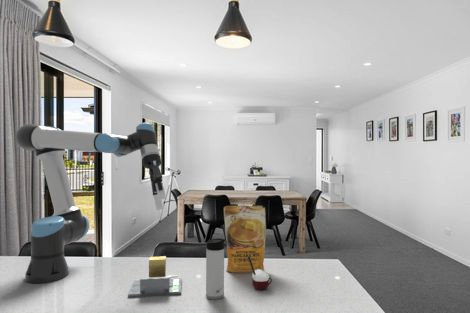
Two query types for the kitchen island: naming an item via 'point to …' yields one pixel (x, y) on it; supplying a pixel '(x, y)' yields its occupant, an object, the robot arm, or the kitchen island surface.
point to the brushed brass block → (158, 267)
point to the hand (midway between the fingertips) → (161, 204)
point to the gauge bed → (155, 287)
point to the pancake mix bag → (245, 237)
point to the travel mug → (215, 269)
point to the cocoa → (259, 278)
